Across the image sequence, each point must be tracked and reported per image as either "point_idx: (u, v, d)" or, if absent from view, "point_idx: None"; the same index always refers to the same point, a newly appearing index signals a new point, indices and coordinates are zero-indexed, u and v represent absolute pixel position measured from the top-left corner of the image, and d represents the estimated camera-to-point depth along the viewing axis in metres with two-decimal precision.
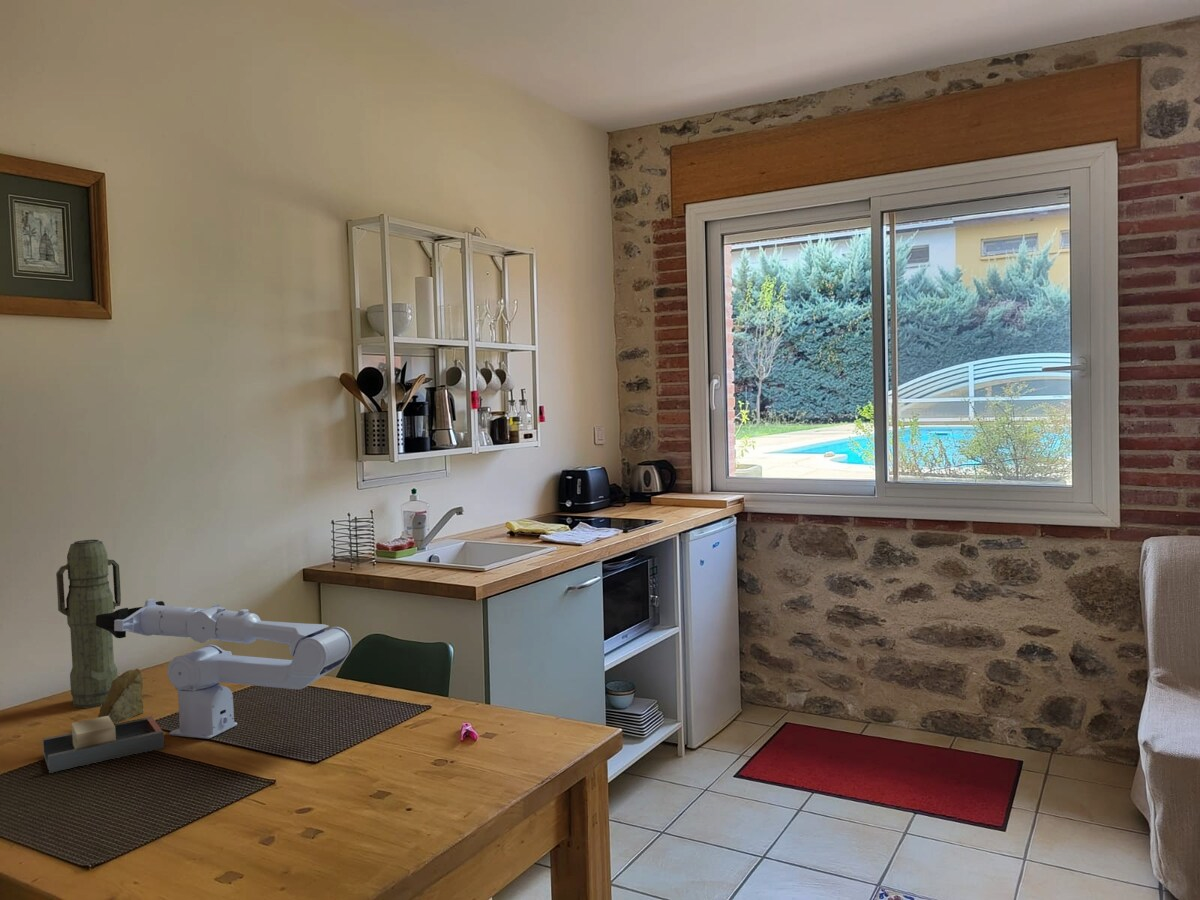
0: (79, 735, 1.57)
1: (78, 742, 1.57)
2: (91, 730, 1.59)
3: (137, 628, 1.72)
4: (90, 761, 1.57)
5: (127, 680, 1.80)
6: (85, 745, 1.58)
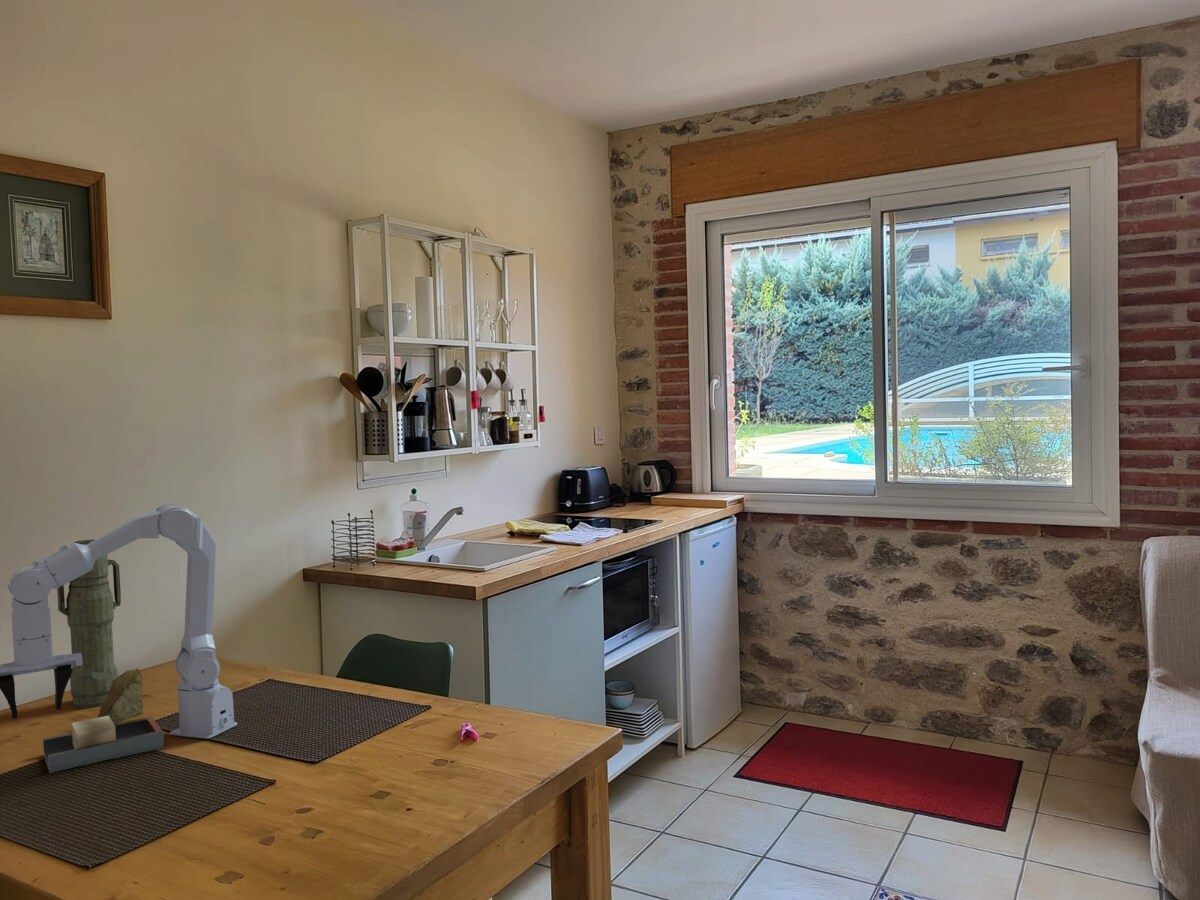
0: (79, 735, 1.57)
1: (78, 742, 1.57)
2: (91, 730, 1.59)
3: None
4: (90, 761, 1.57)
5: (127, 680, 1.80)
6: (85, 745, 1.58)
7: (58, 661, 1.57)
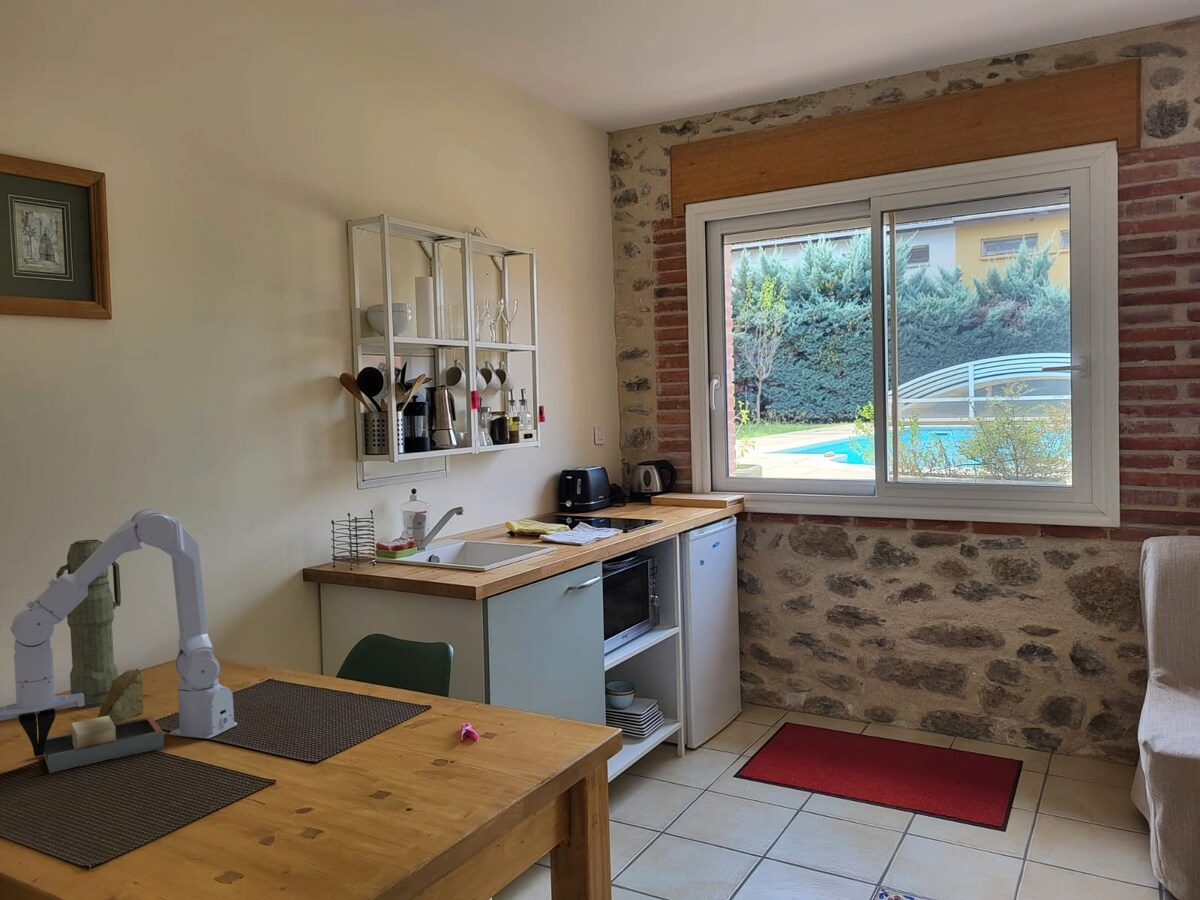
0: (79, 735, 1.57)
1: (78, 742, 1.57)
2: (91, 730, 1.59)
3: None
4: (90, 761, 1.57)
5: (127, 680, 1.80)
6: (85, 745, 1.58)
7: (60, 702, 1.57)
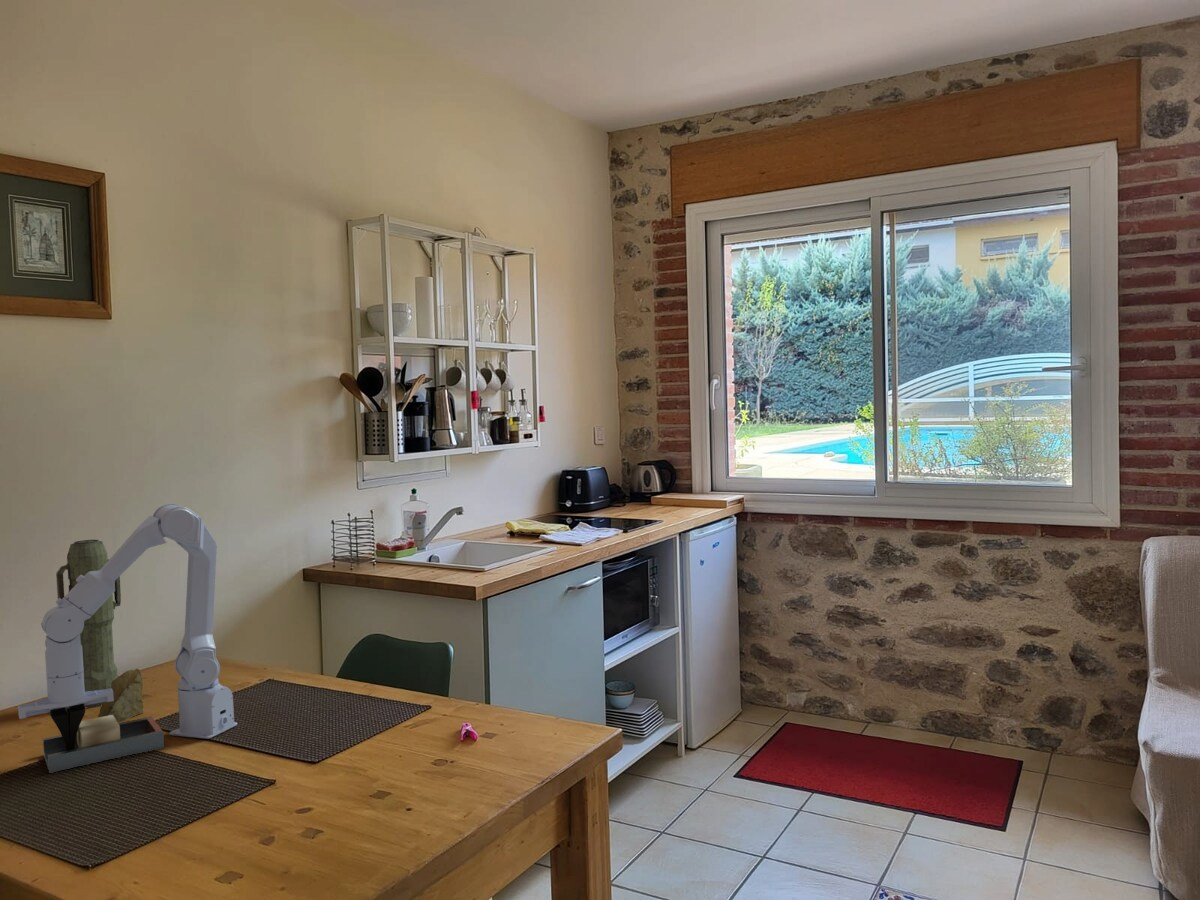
0: (84, 734, 1.58)
1: (83, 741, 1.58)
2: (96, 729, 1.60)
3: None
4: (90, 761, 1.57)
5: (127, 680, 1.80)
6: (90, 744, 1.58)
7: (90, 698, 1.60)
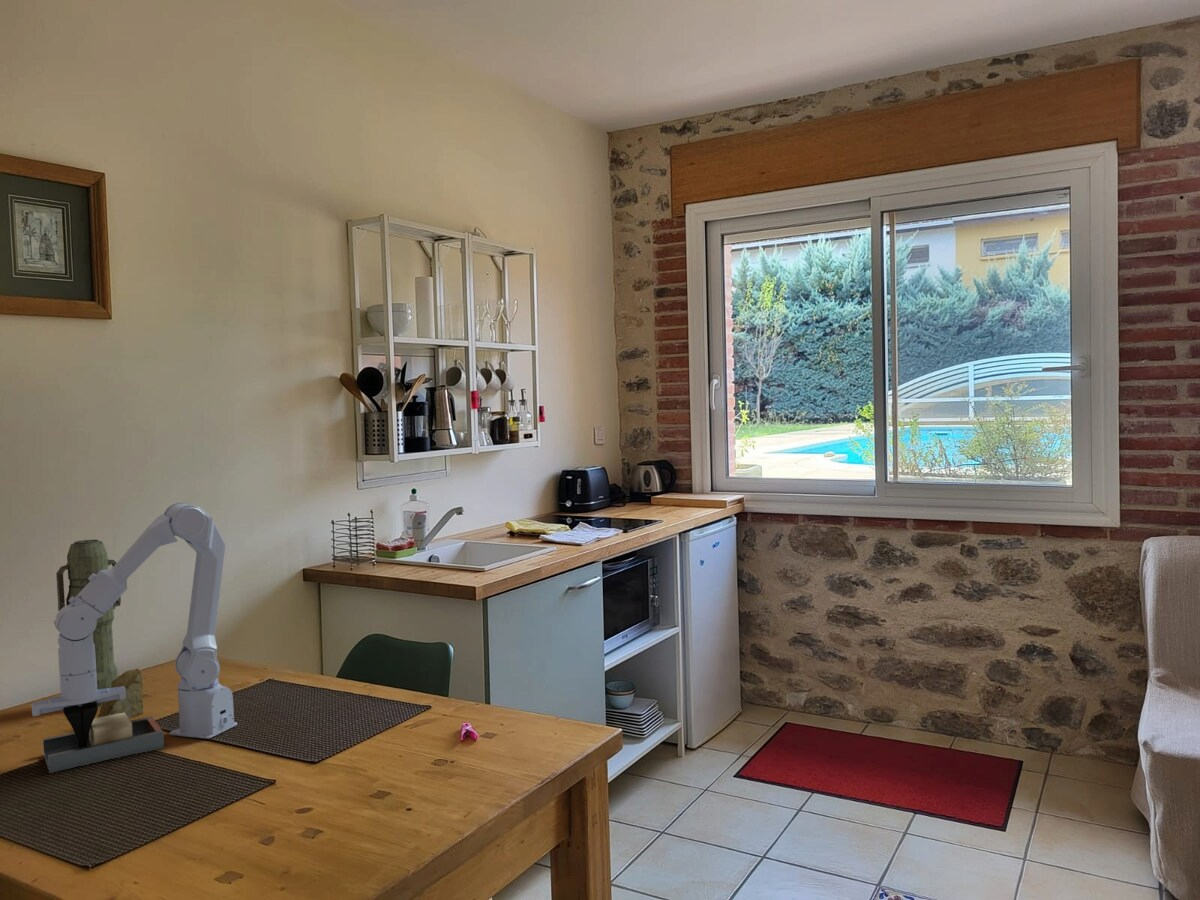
0: (96, 731, 1.59)
1: (95, 738, 1.59)
2: (108, 726, 1.61)
3: None
4: (90, 761, 1.57)
5: (127, 680, 1.80)
6: (102, 741, 1.59)
7: (103, 695, 1.61)
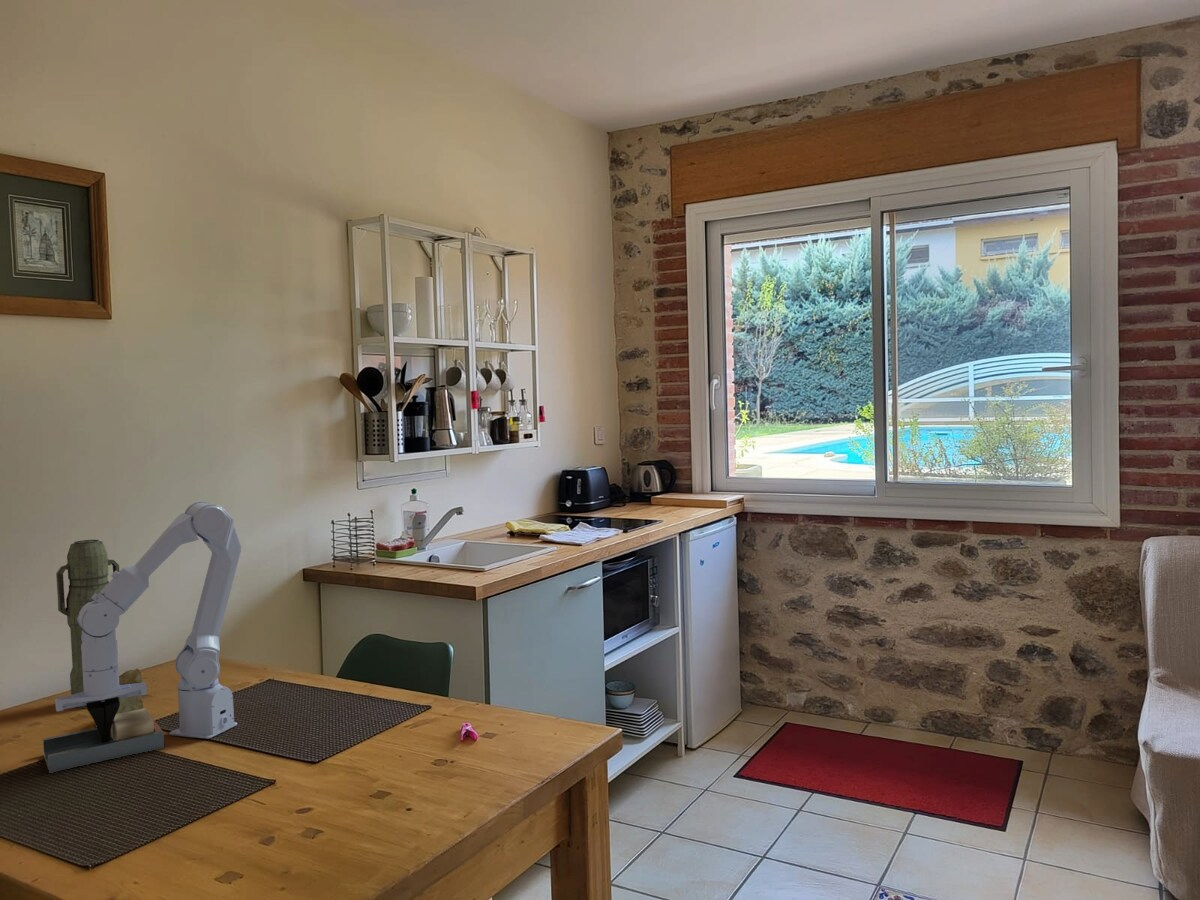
0: (119, 727, 1.61)
1: (118, 734, 1.61)
2: (130, 722, 1.63)
3: None
4: (90, 761, 1.57)
5: (127, 680, 1.80)
6: (124, 737, 1.62)
7: (125, 691, 1.63)
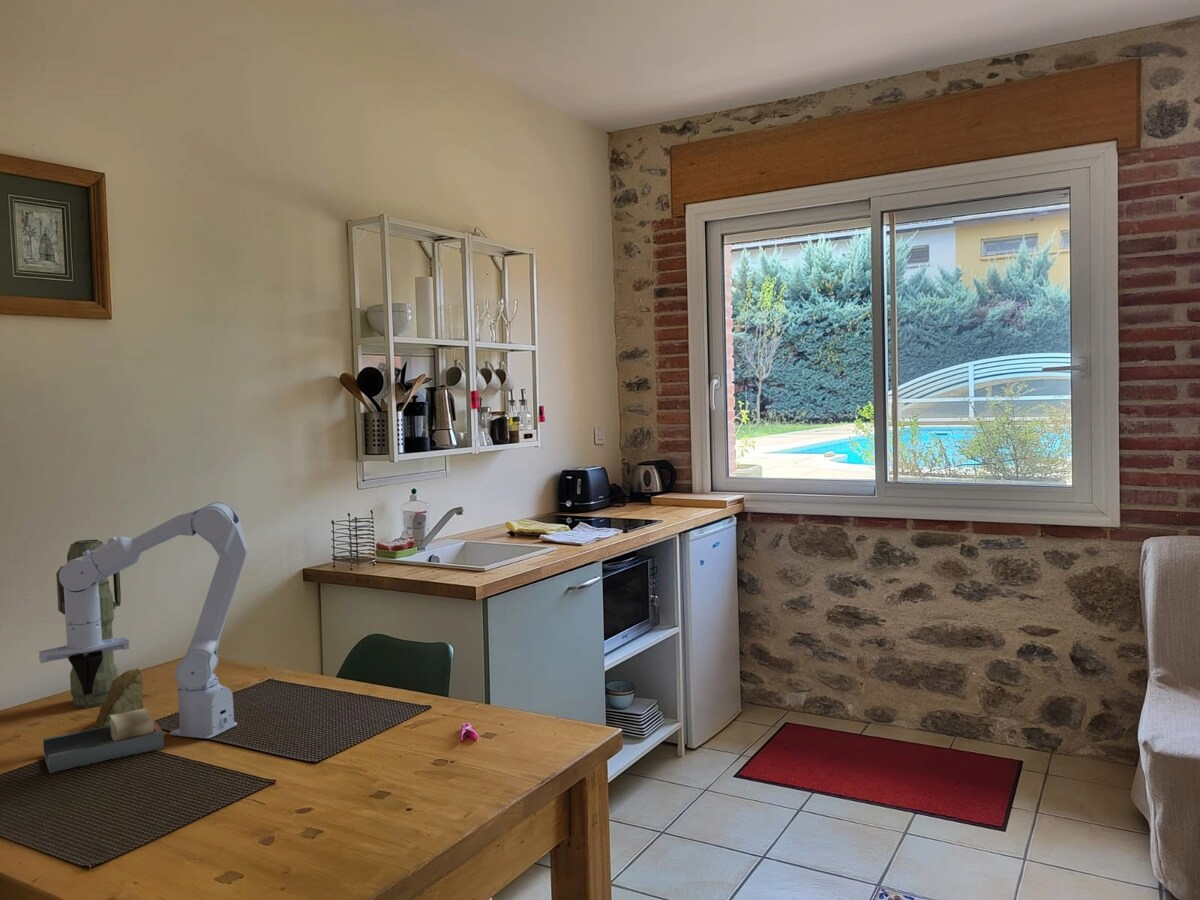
0: (119, 727, 1.61)
1: (118, 734, 1.61)
2: (130, 722, 1.63)
3: None
4: (90, 761, 1.57)
5: (127, 680, 1.80)
6: (124, 737, 1.62)
7: (107, 645, 1.68)
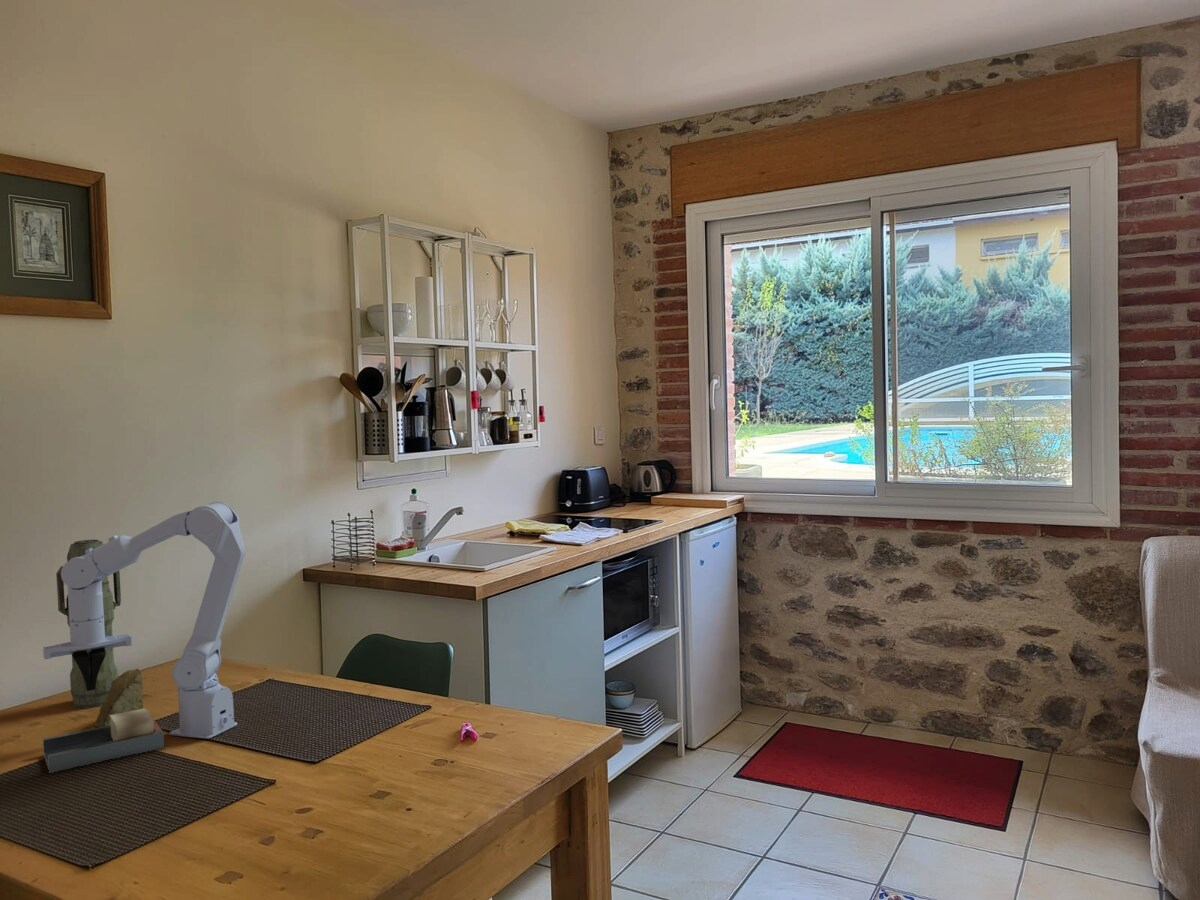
0: (119, 727, 1.61)
1: (118, 734, 1.61)
2: (130, 722, 1.63)
3: None
4: (90, 761, 1.57)
5: (127, 680, 1.80)
6: (124, 737, 1.62)
7: (110, 641, 1.71)
